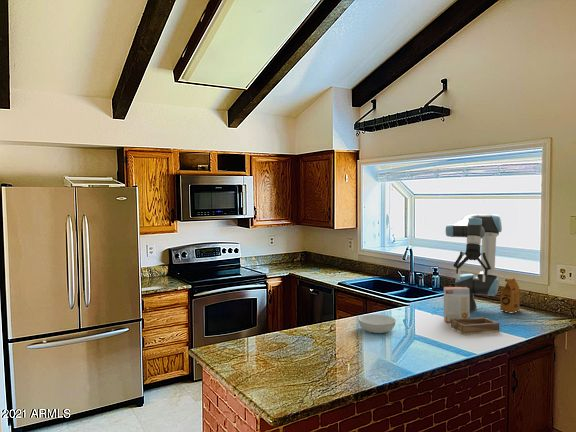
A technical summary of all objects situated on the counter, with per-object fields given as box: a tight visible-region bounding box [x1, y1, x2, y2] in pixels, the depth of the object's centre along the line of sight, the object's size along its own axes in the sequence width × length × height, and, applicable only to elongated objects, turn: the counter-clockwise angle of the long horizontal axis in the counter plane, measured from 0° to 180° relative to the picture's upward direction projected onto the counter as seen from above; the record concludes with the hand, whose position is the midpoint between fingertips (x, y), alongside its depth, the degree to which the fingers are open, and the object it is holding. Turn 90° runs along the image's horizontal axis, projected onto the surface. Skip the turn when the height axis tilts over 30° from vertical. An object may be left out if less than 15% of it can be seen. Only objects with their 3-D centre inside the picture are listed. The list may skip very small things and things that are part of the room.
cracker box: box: [443, 286, 471, 324], centre depth 272 cm, size 14×6×21 cm, turn 84°
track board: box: [450, 317, 501, 336], centre depth 255 cm, size 13×22×5 cm, turn 102°
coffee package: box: [499, 276, 521, 313], centre depth 296 cm, size 10×12×22 cm
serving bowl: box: [357, 313, 397, 334], centre depth 255 cm, size 21×21×7 cm
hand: (471, 280), depth 257 cm, fingers open, 13 cm apart
